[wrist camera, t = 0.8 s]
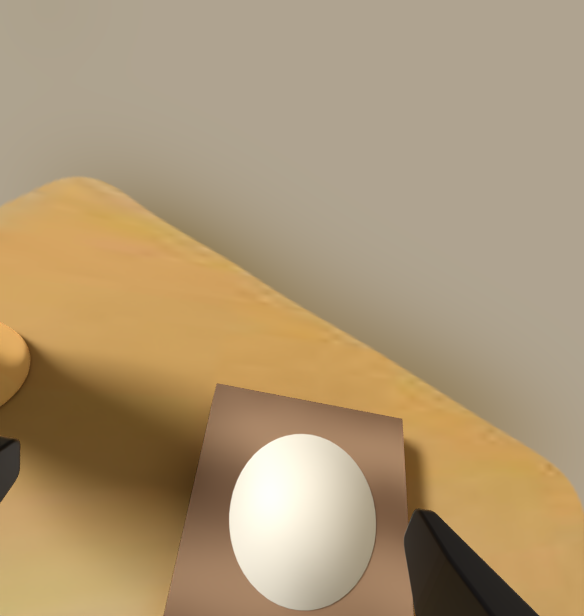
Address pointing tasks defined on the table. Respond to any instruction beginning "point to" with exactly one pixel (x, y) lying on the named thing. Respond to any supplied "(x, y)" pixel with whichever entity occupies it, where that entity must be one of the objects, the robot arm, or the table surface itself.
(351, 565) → the walnut step
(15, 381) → the beer glass
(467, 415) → the table surface
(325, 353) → the table surface
